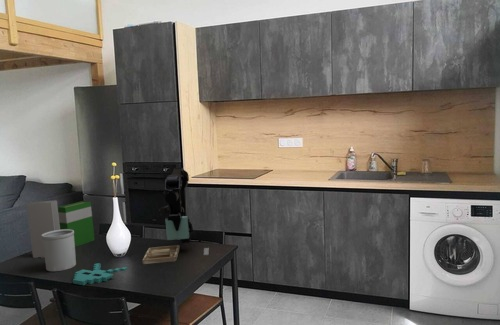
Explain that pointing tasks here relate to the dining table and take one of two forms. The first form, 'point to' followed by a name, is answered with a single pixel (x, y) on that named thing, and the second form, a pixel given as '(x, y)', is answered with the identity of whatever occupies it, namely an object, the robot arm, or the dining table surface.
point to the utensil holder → (59, 249)
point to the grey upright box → (41, 223)
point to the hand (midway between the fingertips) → (177, 229)
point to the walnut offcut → (158, 256)
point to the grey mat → (206, 251)
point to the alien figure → (94, 275)
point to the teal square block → (181, 233)
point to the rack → (173, 250)
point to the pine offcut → (161, 252)
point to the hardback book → (77, 221)
